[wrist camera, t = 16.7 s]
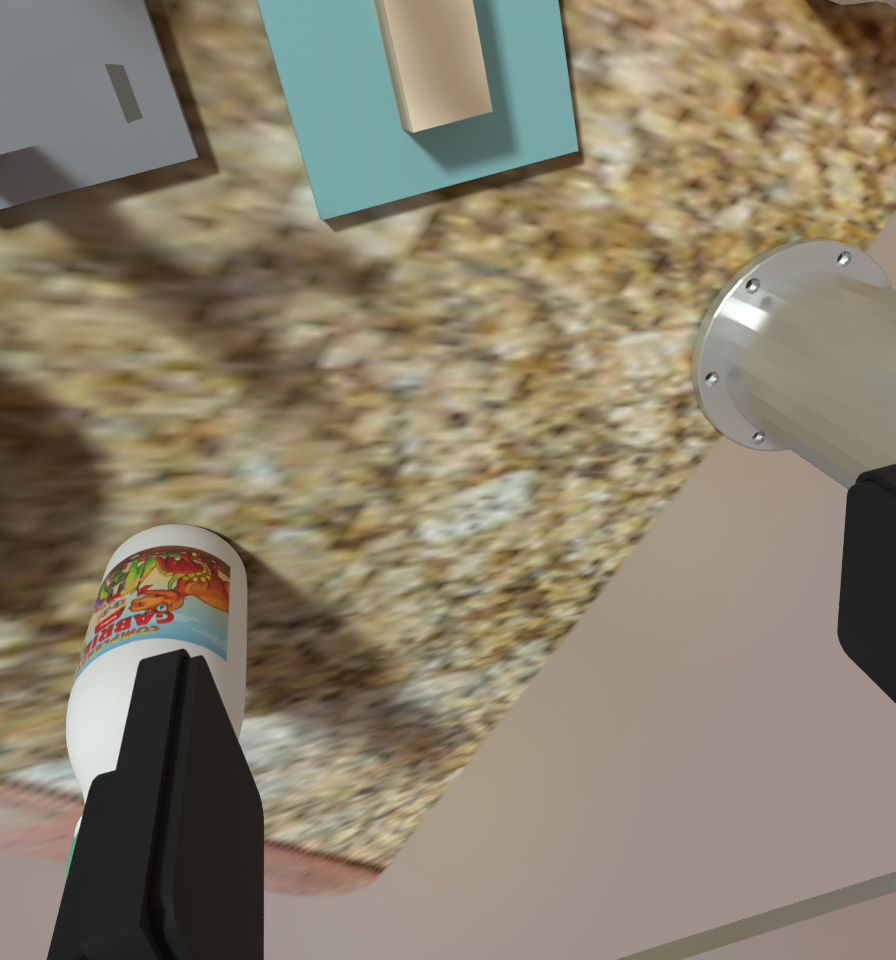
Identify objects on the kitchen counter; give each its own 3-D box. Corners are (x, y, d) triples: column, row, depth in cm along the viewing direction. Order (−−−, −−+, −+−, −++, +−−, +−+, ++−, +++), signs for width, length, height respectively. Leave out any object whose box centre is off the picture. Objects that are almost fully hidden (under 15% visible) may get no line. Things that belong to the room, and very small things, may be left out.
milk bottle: (274, 565, 48) (287, 851, 30) (194, 654, 49) (161, 976, 32) (160, 493, 44) (99, 769, 27) (77, 591, 46) (-33, 914, 28)
